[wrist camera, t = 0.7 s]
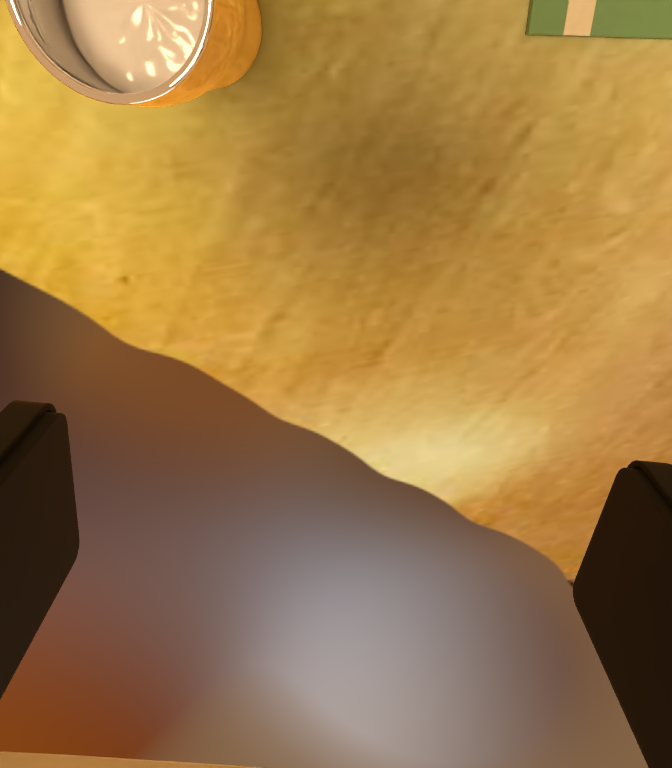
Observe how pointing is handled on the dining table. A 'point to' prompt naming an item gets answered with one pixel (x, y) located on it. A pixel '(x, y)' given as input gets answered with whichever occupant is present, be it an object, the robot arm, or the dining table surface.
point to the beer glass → (141, 45)
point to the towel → (601, 18)
